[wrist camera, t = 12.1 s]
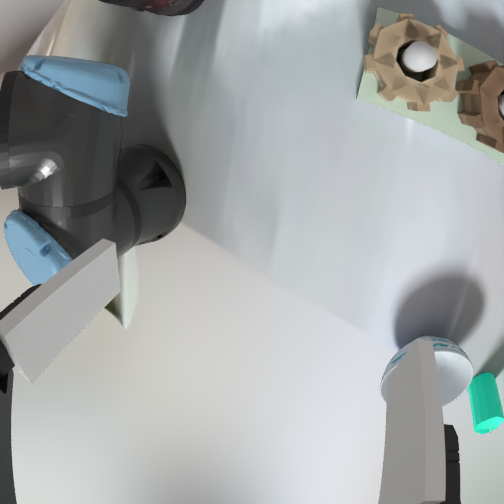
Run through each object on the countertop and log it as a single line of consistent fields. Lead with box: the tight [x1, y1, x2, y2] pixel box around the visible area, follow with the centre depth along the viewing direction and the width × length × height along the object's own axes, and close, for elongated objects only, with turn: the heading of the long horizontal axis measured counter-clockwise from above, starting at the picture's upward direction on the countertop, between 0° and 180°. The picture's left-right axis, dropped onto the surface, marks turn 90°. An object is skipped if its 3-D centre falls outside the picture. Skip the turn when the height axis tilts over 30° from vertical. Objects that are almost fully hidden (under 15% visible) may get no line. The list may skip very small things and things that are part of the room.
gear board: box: [357, 7, 504, 165], centre depth 21 cm, size 21×12×10 cm, turn 78°
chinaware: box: [380, 336, 473, 406], centre depth 40 cm, size 15×15×8 cm
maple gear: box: [363, 14, 464, 112], centre depth 23 cm, size 10×10×6 cm
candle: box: [468, 372, 504, 434], centre depth 37 cm, size 6×6×12 cm
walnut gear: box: [455, 60, 504, 153], centre depth 21 cm, size 10×10×6 cm
